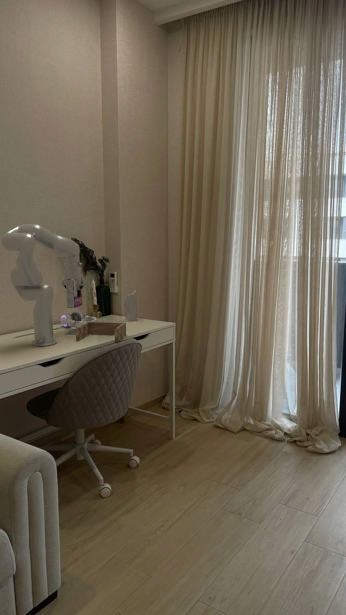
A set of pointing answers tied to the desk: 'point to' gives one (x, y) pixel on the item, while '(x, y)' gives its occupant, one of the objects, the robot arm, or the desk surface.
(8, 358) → the desk surface
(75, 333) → the felt mat
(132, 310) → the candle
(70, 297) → the candy bar box
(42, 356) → the desk surface
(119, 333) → the brown bent panel
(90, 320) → the headphones
